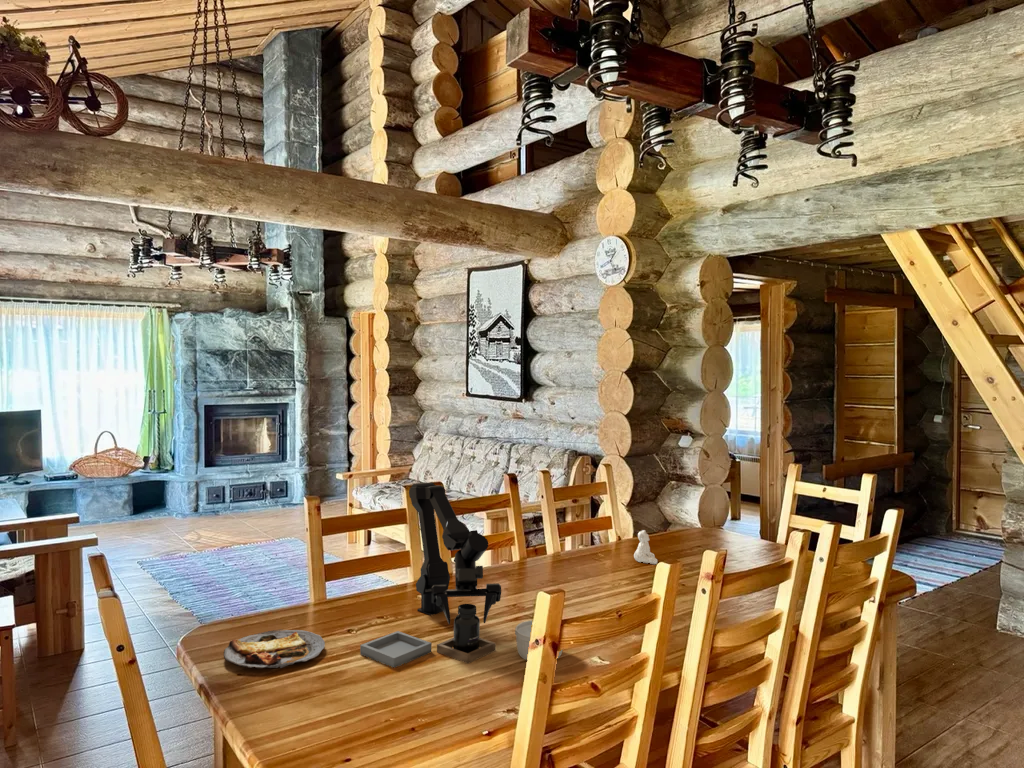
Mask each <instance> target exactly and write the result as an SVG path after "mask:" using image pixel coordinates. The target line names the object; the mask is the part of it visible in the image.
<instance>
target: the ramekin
mask: <svg viewBox="0 0 1024 768" xmlns="http://www.w3.org/2000/svg"><path fill="white" fill-rule="evenodd" d="M531 625H532V620H525V621H522V622H520V623H518V624H517V625H516V626H515V628H514V629H515V630H514V633H515V638H516V648H517V649H516V650H517V653H518V655H519V656H520V657H521V658H522V659H523V660H525V661H527V660H526V659H527V654H528V647H529V641H530V632H531ZM562 654H563V650H561V651H560V652H559V656H558V659H559V658H560V657H561V655H562Z"/></svg>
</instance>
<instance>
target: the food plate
mask: <svg viewBox="0 0 1024 768" xmlns="http://www.w3.org/2000/svg"><path fill="white" fill-rule="evenodd" d="M325 644H326V641H325V639H323V638H322V636H321V635H320V634H316V633H314V632H311V631H307V630H301V629H290V630H289V629H282V630H279V629H274V630H268V631H264V632H258V633H254V634H250V635H248V636H246V635H245V636H244V637H241V638H239V639H231V640H230V641H229V644H228V646H227V647H226V648H225V649H223V658H224V659H225V660H226V661H227V662H228V663H232V664H234V665H236V666H237V667H239V666H240V667H243V668H248V669H251V668H254V667H255V668H256V669H263V668H270V669H278V668H280V669H283V668H285V667H287V666H289V665H294V664H295V663H301V662H308V661H309V660H312V659H314V658H316V657H318V656H319V655H320V654H321V652H322V650H323V649H324V648H325ZM307 650H308V652H307ZM305 653H307V655H305ZM298 656H303V657H301V658H299V659H297V660H295V659H296V658H293V657H298ZM287 661H289V662H287ZM290 661H291V662H290Z"/></svg>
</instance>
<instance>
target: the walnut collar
mask: <svg viewBox="0 0 1024 768" xmlns="http://www.w3.org/2000/svg"><path fill="white" fill-rule="evenodd" d="M452 647H454V637H452V638H450V639H447V640H445V641H442V642H439V643H438V644H436V653H438V654H441V655H443V654H444V655H443V656H446V657H449V658H451V657H452V658H451V659H454V658H455V660H457V659H458V660H457V661H460V662H463V663H465V664H469V663H472V662H474V661H476V660H478V659H481V658H483V657H485V656H486V655H489V654H491V653H494V652H496V651H497V642H494V641H491V640H488V639H485V638H482V637H479V649H476V650H474V651H472V652H470V653H465V652H462V651H459V650H456V649H454V648H452Z"/></svg>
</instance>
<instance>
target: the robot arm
mask: <svg viewBox="0 0 1024 768" xmlns="http://www.w3.org/2000/svg"><path fill="white" fill-rule="evenodd" d="M408 496H409V498H410V501H411V505H412V506H413V508H414V509H415V511H416V512H417V514H418V520H419V521H418V522H419V527H420V535H421V542H422V550H423V551H422V552H423V558H424V559H423V560H424V561H423V563H422V565H421V568H420V576H419V578H418V580H417V581H416V583H415V589H416V592H417V593H419V594H420V595H421V597H420V598H421V599H420V600H421V601H420V602H421V603H420V604H421V605H420V608H419V607H418V608H417V612H421V613H422V614H425V615H429V616H434V614H435V615H437V614H440V613H443V614H444V616H445V618H446V621H447V623H448V625H451V612H450V611H451V610H450V605H449V598H462V597H463V598H464V597H467V598H469V597H485V598H484V599H485V601H484V609H483V610H484V611H483V624H486V621H487V618H488V615H489V612H490V609H491V607H492V606H493V605H494V606H495V605H496V603H499V602H500V601H501V598H502V585H501V584H500V583H497V582H496V583H494V582H493V583H486V584H485V588H477V587H478V580H479V579H480V580H481V579H483V578H484V568H483V565H477V563H476V562H478V561H479V560H480V558H481V557H482V556H483V555H484V553H485V552H486V550H488V548H489V541H488V539H487V538H486V536H484V535H483V534H481V533H479V532H478V530H477V529H473V530H469V528H468V527H467V525H466V524H465V523H463V522H462V521H461V520H460V519H458V517H457V515H456V513H455V511H454V509H453V507H452V504H451V503H450V501H449V498H448V497H447V495H446V489H445V487H444V486H443V485H439V484H438V485H436V484H435V483H434V482H432V481H431V482H430V481H429V482H418V483H417V482H416V483H413V484H412V485H411V487H410V488H409V489H408ZM435 514H436V516H437V518H438V520H439V522H440V525H441V527H442V529H443V532H442V536H441V538H442V540H443V545H444V547H445V548H446V549H447V550H448V551H456V553H455V554H454V559H453V562H454V567H455V568H454V571H455V573H454V574H455V575H454V576H455V577H454V578H455V579H454V580H455V588H454V589H451V588H450V589H449V587H450V581H451V575H450V572H449V564H448V562H447V561H444V560H443V559H442V557H441V552H440V546H439V539H438V532H437V531H438V530H437V524H436V519H435V518H436V516H435Z"/></svg>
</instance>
